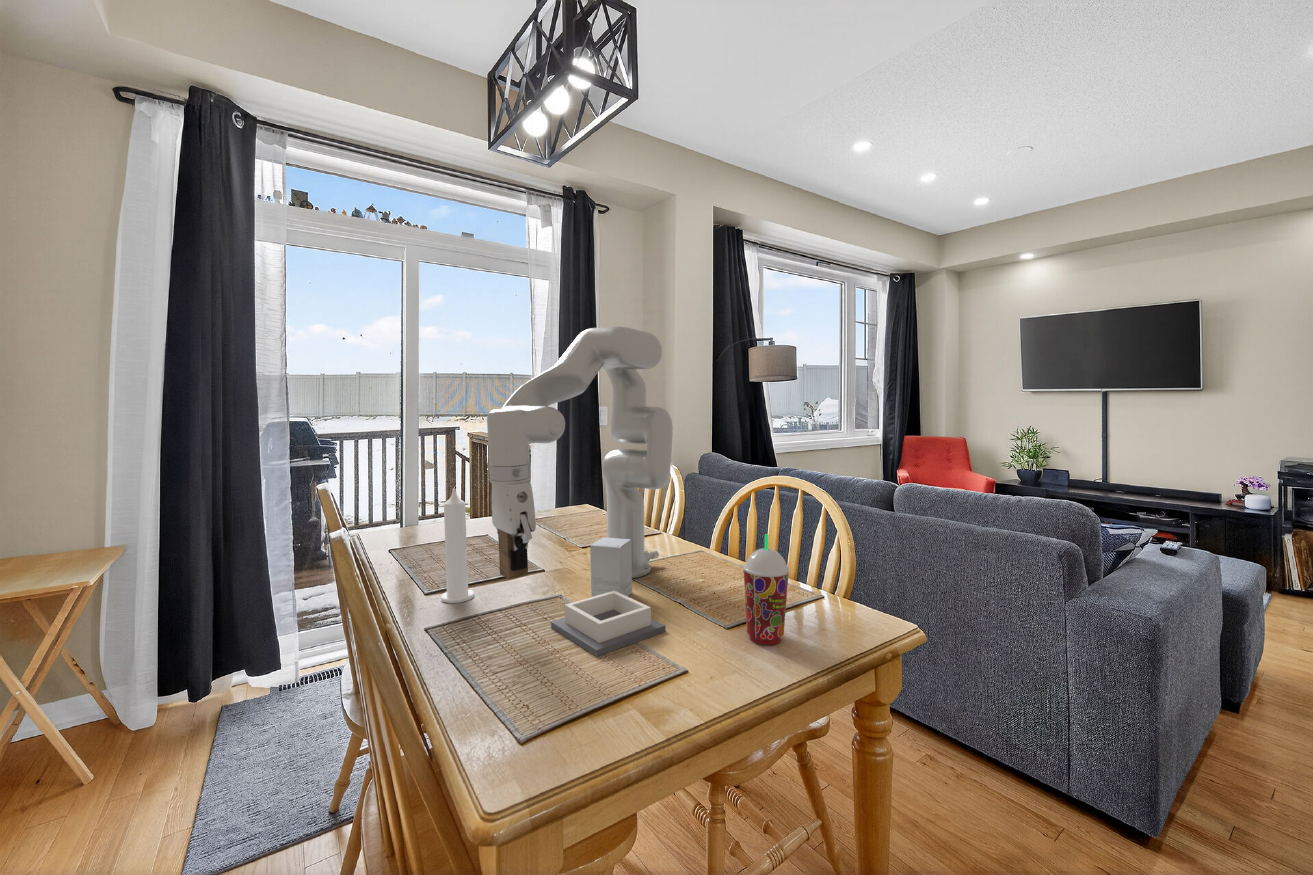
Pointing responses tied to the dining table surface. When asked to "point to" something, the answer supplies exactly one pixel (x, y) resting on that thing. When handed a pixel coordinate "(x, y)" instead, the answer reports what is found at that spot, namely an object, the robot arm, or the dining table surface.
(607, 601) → the collar stand
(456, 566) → the candle
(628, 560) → the supplement box
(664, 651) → the dining table surface
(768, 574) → the smoothie
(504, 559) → the block
